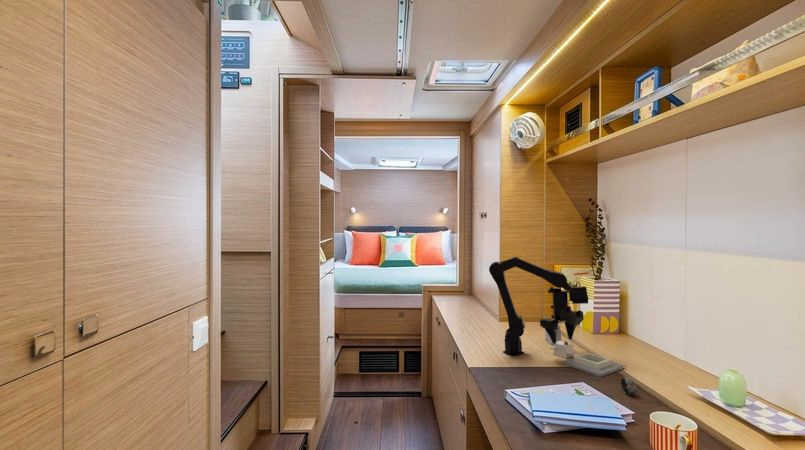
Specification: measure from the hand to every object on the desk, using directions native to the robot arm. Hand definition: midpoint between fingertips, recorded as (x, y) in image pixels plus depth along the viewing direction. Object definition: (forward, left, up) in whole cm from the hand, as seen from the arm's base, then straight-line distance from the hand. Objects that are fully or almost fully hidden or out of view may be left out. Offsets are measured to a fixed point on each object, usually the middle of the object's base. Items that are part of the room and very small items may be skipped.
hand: (562, 341), depth 156 cm
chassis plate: (-1, -14, -6) cm, 15 cm away
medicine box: (+10, +14, -6) cm, 18 cm away
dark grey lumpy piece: (-12, -35, -6) cm, 38 cm away
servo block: (0, 0, -6) cm, 6 cm away
